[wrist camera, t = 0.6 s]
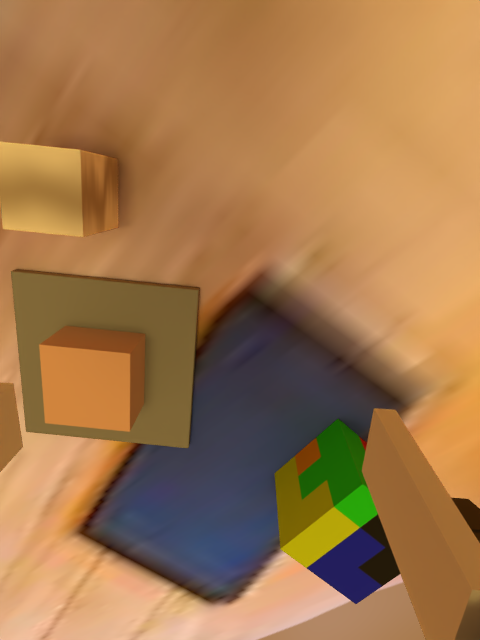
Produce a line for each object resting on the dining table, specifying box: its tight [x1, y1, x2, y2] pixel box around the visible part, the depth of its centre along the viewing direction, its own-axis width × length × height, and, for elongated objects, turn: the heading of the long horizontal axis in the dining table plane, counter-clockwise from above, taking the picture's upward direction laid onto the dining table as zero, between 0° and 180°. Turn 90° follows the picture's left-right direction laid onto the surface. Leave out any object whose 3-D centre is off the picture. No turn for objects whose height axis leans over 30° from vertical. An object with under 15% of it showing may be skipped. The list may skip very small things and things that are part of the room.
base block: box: [39, 326, 145, 432], centre depth 37 cm, size 8×8×5 cm
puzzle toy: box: [275, 419, 401, 604], centre depth 40 cm, size 10×10×10 cm
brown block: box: [0, 142, 118, 237], centre depth 32 cm, size 6×6×8 cm
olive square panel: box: [11, 269, 200, 448], centre depth 40 cm, size 18×18×1 cm
